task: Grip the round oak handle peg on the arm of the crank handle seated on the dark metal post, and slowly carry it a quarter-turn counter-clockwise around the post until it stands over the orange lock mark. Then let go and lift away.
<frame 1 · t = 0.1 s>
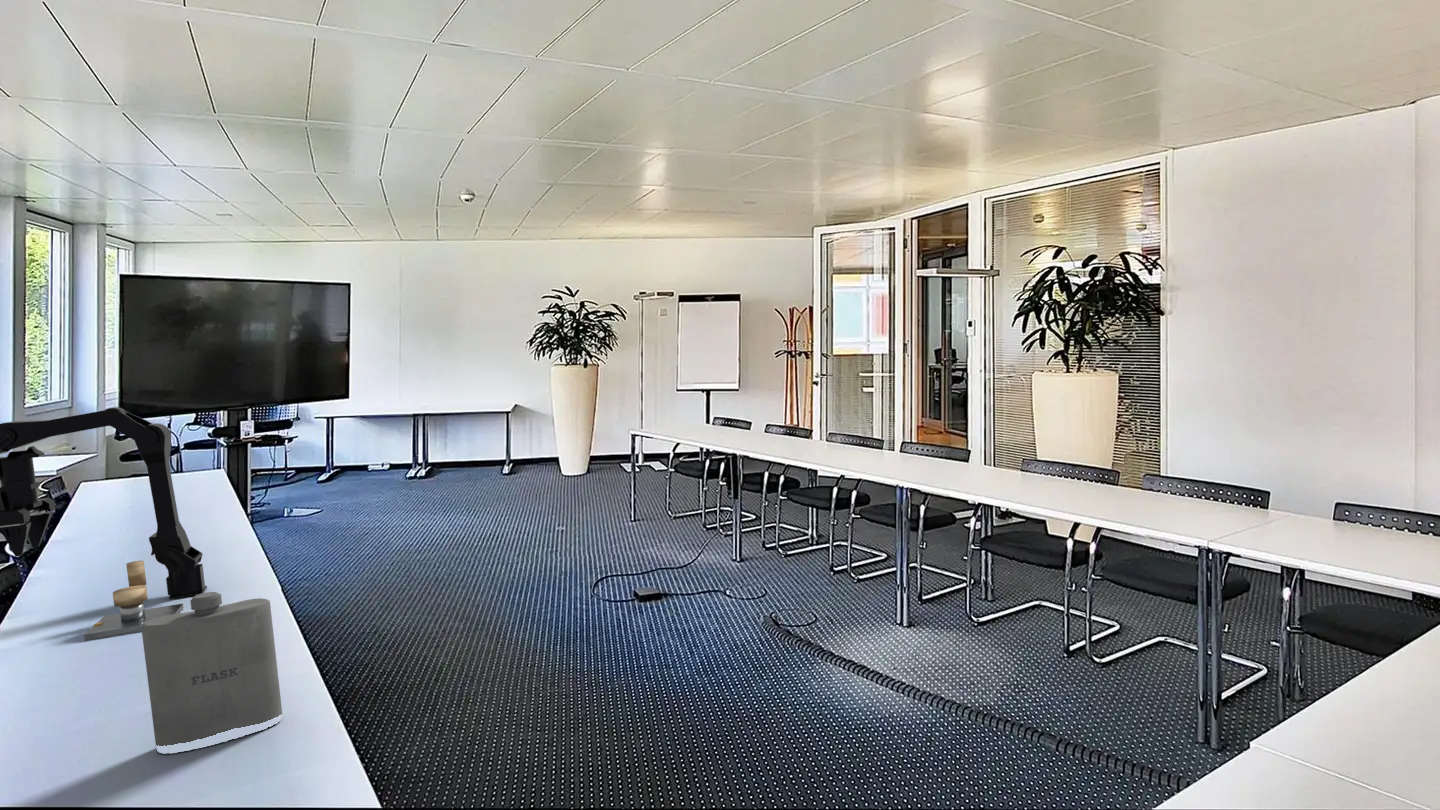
hand: (27, 551, 175), 15 cm above the table, fingers open, 9 cm apart
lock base: (133, 624, 166), on the table
crank handle: (132, 582, 168), point 8 cm above the table, hinge at 0.0°
flask: (222, 737, 112), on the table
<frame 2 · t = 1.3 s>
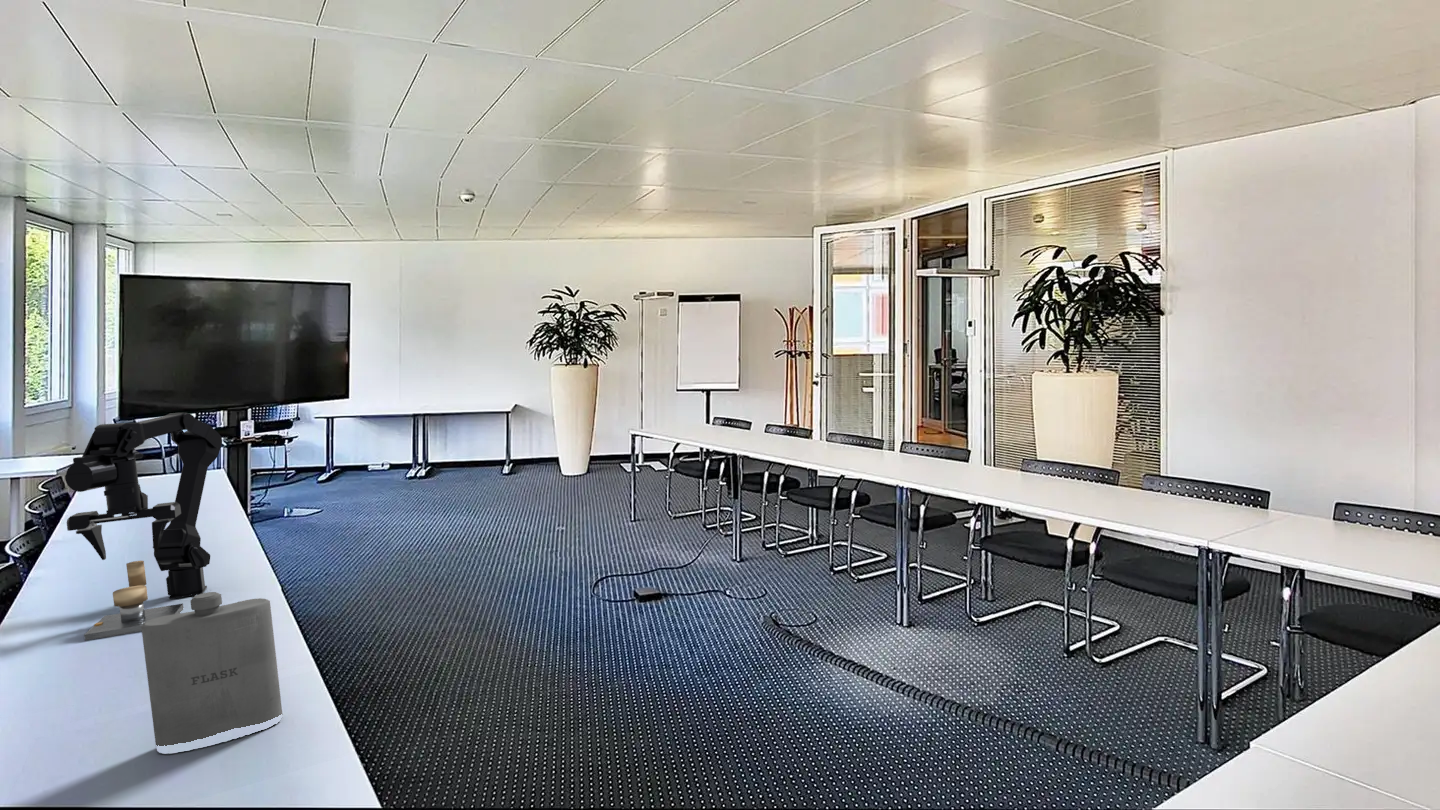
hand: (130, 556, 171), 13 cm above the table, fingers open, 9 cm apart
nothing on the table moved.
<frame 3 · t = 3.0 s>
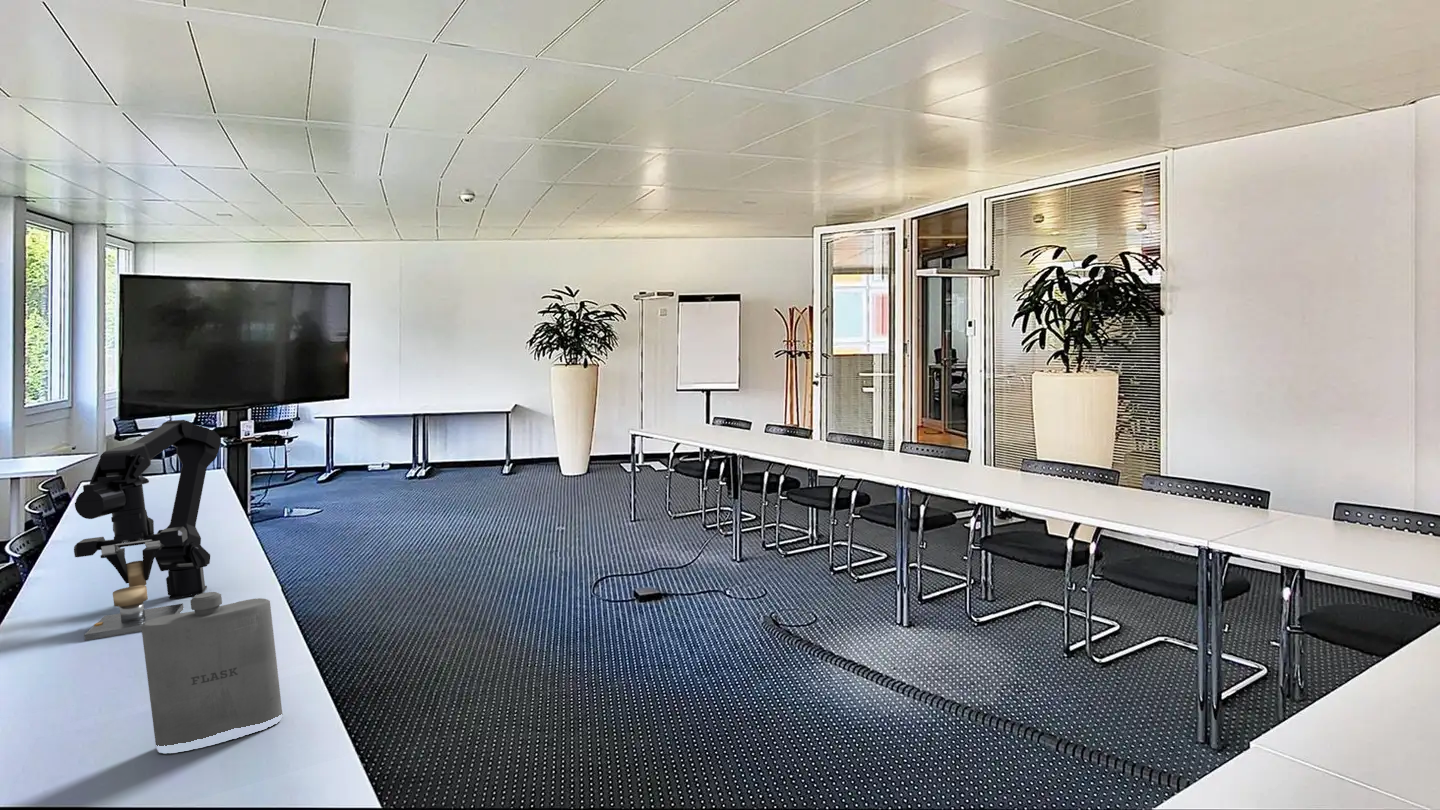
hand: (137, 581, 171), 8 cm above the table, fingers closed on crank handle, 3 cm apart
crank handle: (132, 582, 168), point 8 cm above the table, hinge at 0.0°, touching gripper
everything else where it was.
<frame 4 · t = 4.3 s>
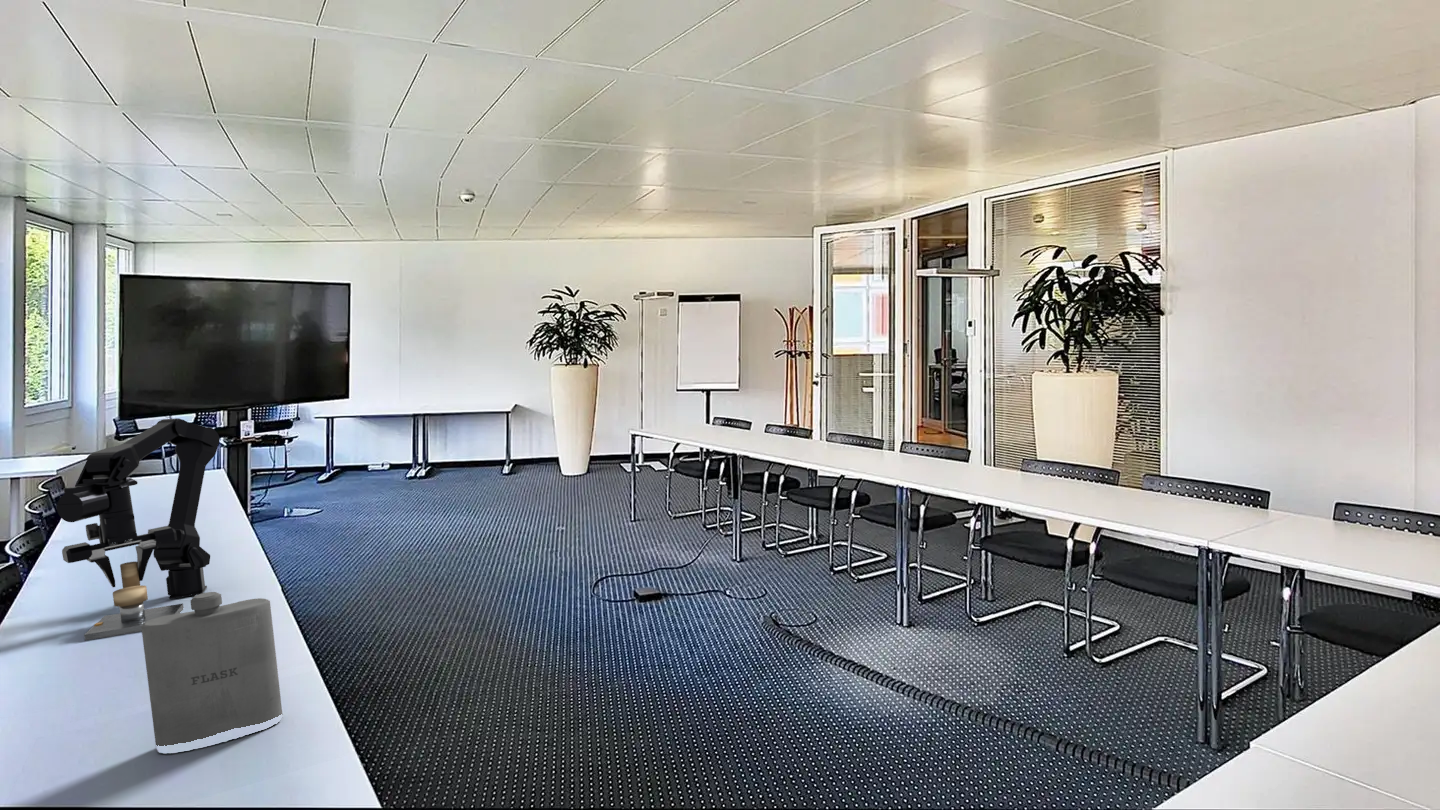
hand: (127, 583, 170), 7 cm above the table, fingers open, 4 cm apart
crank handle: (129, 583, 167), point 8 cm above the table, hinge at 10.4°, touching gripper
everything else where it was.
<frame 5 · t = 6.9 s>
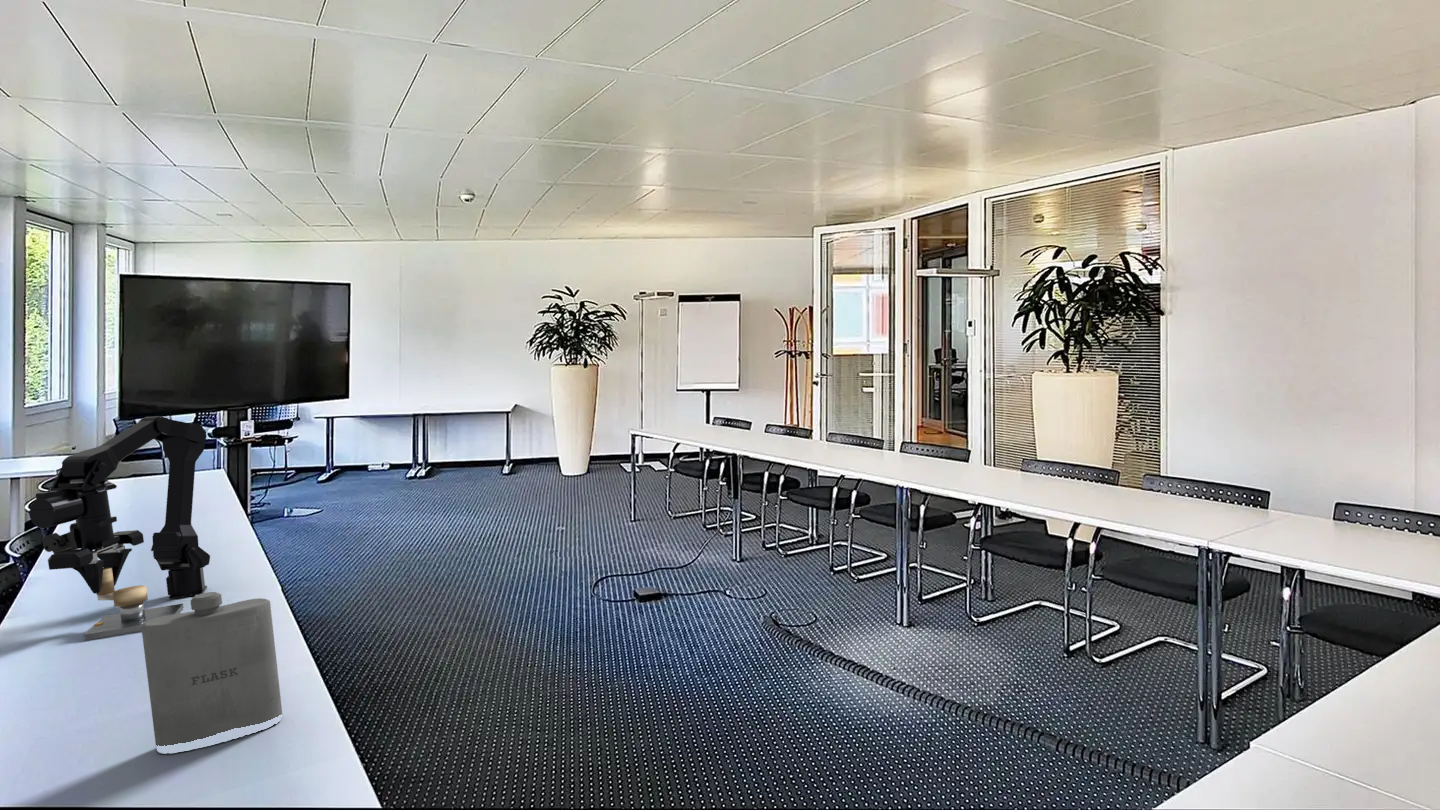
hand: (104, 589, 166), 7 cm above the table, fingers open, 4 cm apart
crank handle: (119, 585, 166), point 8 cm above the table, hinge at 55.6°, touching gripper
everything else where it was.
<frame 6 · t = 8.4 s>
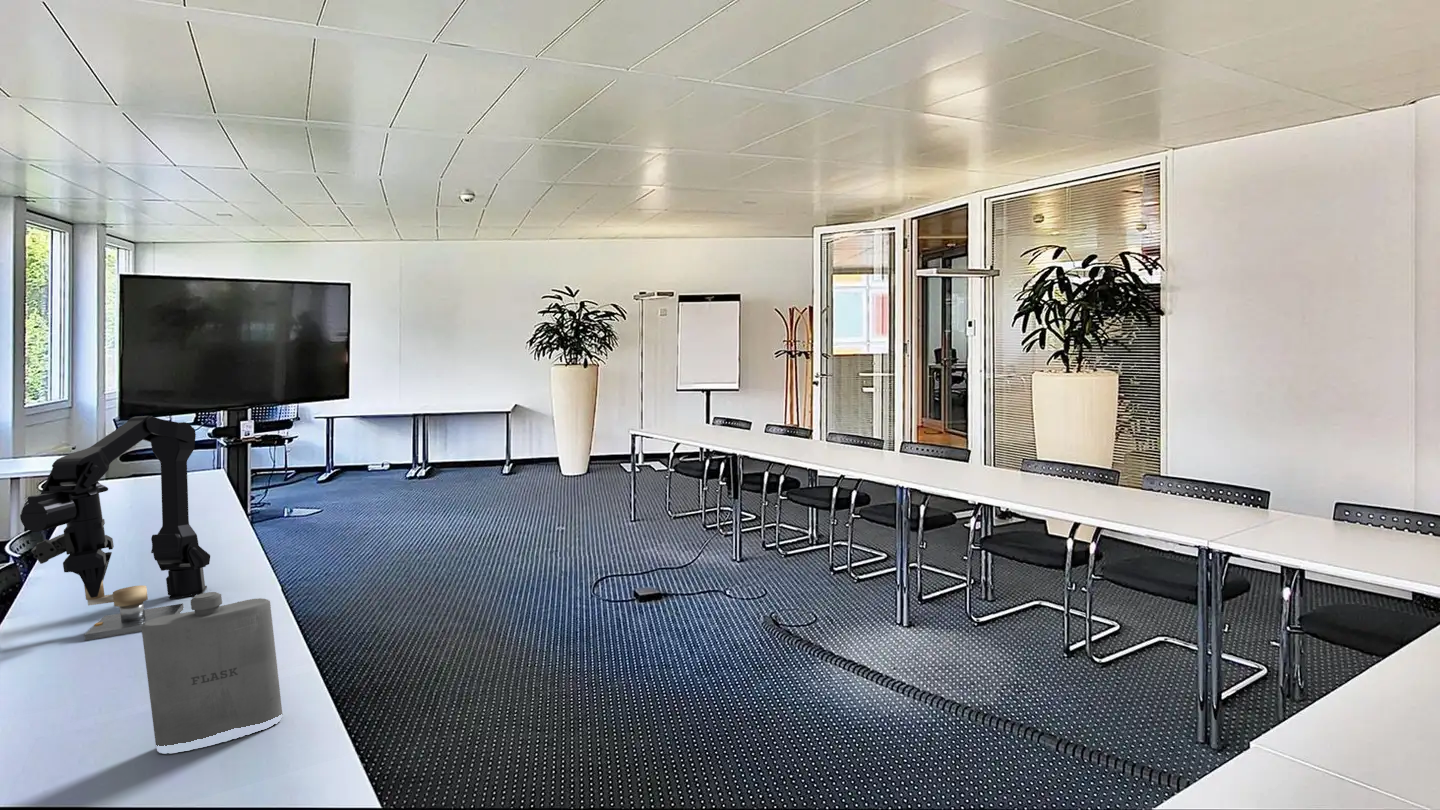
hand: (95, 594, 163), 7 cm above the table, fingers open, 4 cm apart
crank handle: (115, 587, 165), point 8 cm above the table, hinge at 84.8°, touching gripper
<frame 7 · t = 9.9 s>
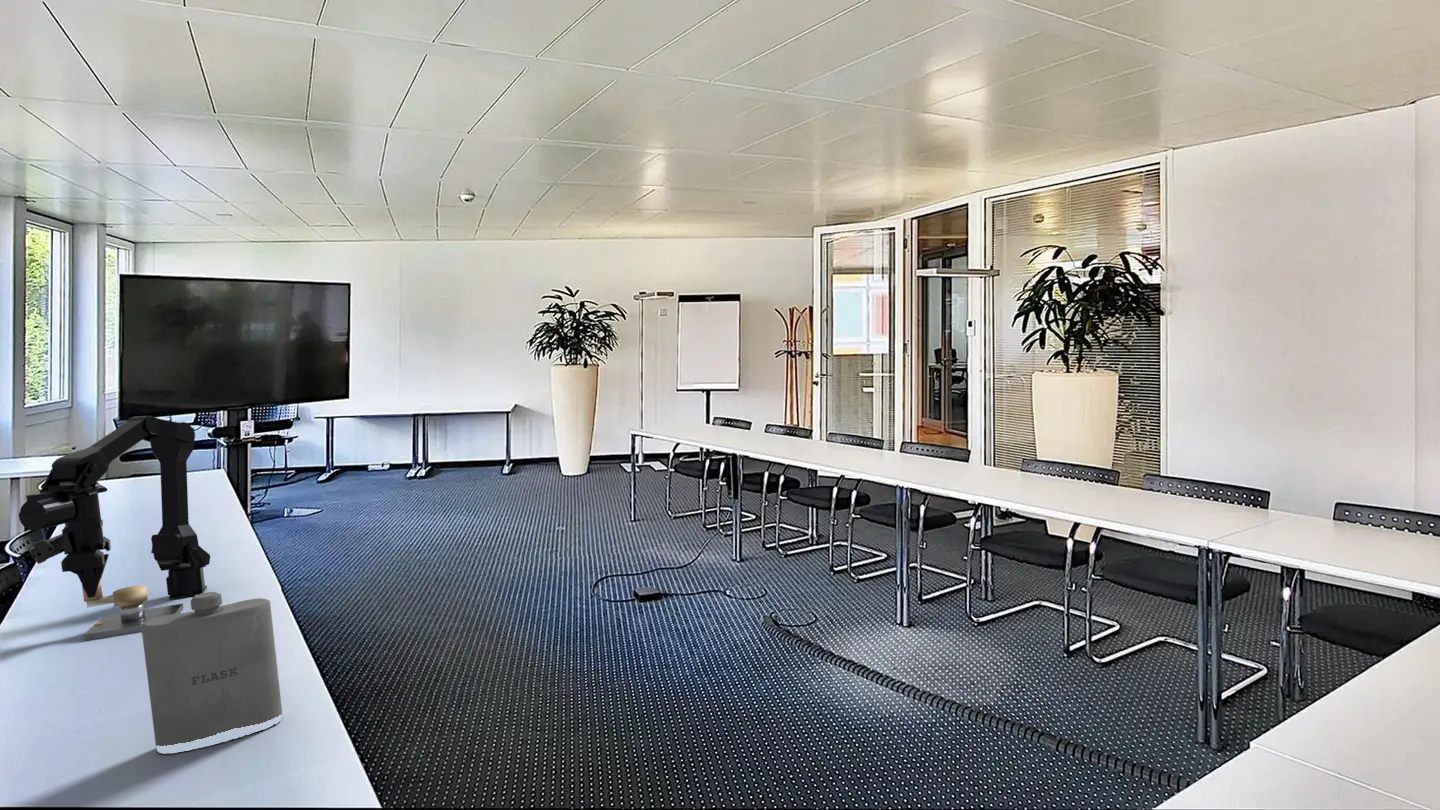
hand: (92, 595, 162), 7 cm above the table, fingers closed on crank handle, 3 cm apart
crank handle: (114, 587, 164), point 8 cm above the table, hinge at 97.5°, touching gripper
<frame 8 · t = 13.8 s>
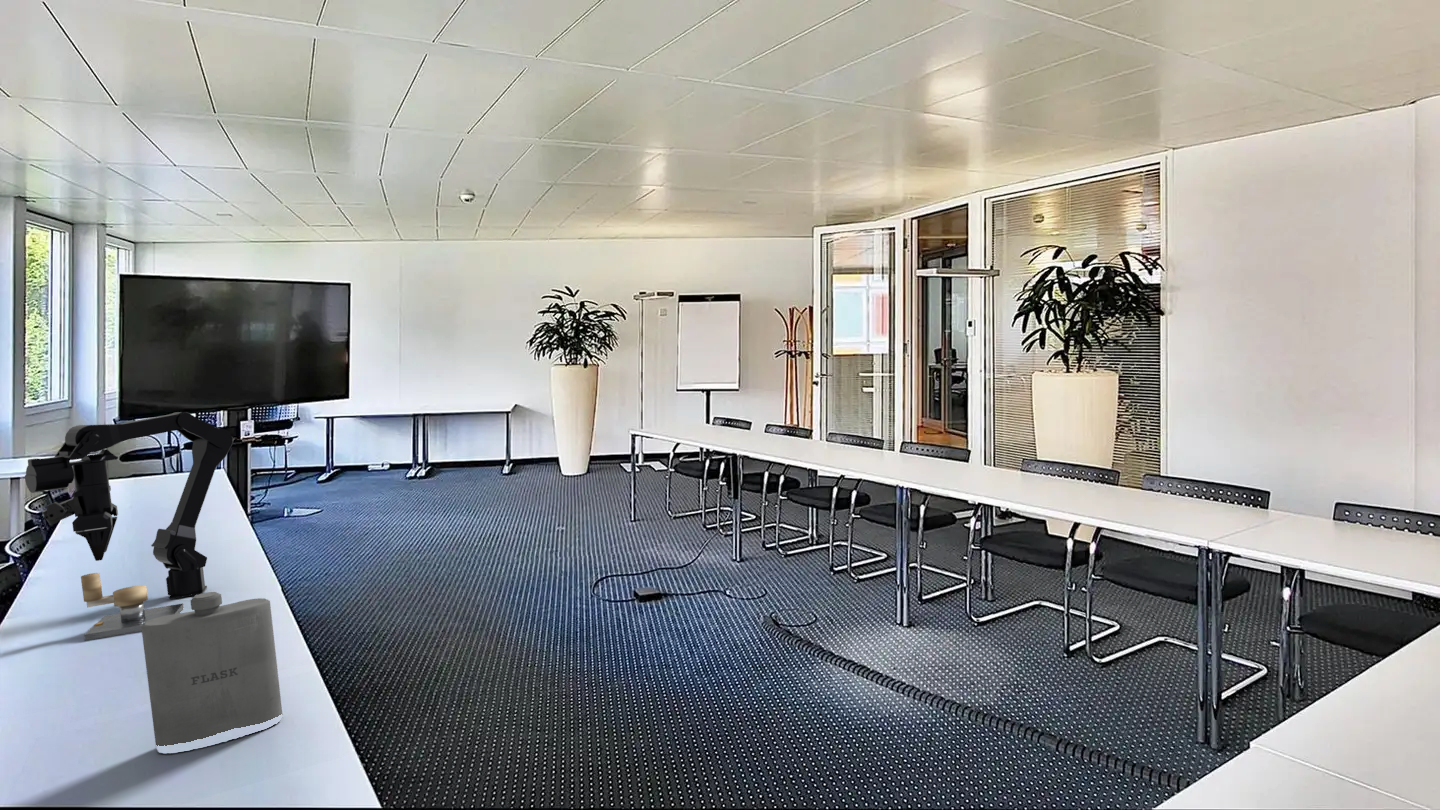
hand: (101, 556, 172), 13 cm above the table, fingers open, 9 cm apart
crank handle: (114, 588, 164), point 8 cm above the table, hinge at 98.6°
at the end: crank handle at +99° (first picture: +0°); the gripper is holding nothing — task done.
